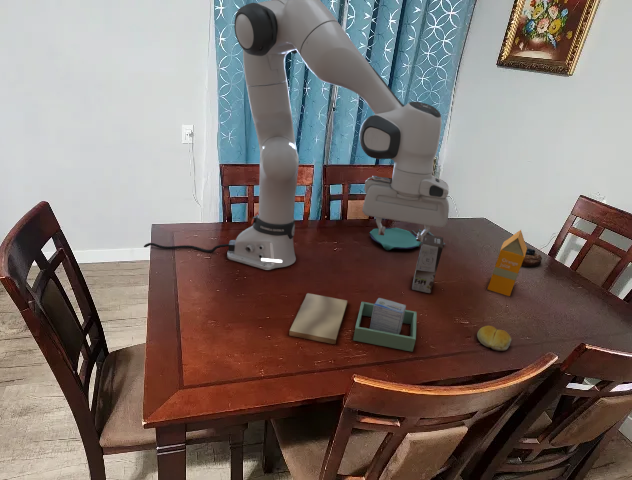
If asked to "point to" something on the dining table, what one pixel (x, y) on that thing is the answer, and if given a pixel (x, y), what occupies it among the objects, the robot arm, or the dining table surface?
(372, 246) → the dining table surface
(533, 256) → the pastry
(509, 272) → the orange juice
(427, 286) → the coffee box
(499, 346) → the bread roll
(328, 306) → the board
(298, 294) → the dining table surface
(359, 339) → the bin
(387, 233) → the teal flat piece
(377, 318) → the medicine box
